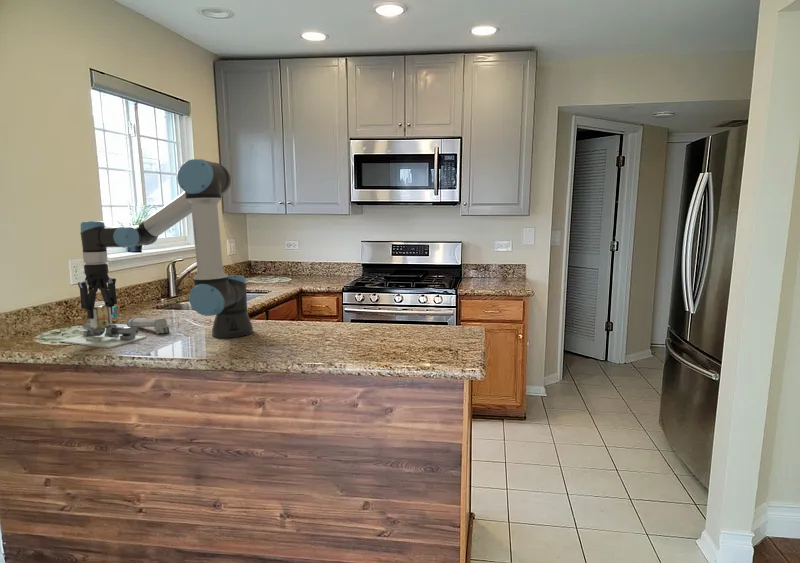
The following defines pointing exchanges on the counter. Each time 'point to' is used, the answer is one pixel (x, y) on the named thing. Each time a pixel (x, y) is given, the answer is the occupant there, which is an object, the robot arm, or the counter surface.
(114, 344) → the board
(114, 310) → the mug
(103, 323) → the gold upright block
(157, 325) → the grey hammer
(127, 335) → the shaft
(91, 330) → the shaft
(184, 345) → the counter surface
